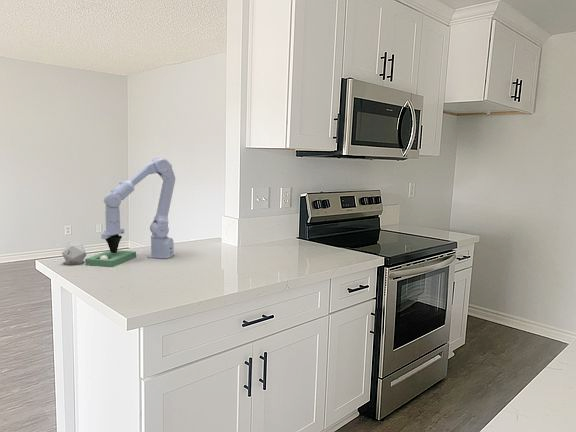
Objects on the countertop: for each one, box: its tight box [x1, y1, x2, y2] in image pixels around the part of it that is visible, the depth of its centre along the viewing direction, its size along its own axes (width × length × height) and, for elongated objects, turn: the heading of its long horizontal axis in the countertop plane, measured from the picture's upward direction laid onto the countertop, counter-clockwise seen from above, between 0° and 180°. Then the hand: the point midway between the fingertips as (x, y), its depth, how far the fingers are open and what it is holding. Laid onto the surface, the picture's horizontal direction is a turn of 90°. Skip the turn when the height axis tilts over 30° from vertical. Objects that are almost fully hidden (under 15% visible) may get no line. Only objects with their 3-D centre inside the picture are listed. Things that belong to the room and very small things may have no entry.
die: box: [61, 243, 87, 265], centre depth 189 cm, size 8×9×10 cm
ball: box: [100, 255, 108, 260], centre depth 189 cm, size 4×4×4 cm
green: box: [84, 249, 137, 268], centre depth 195 cm, size 12×19×2 cm, turn 169°
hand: (113, 252), depth 196 cm, fingers closed
